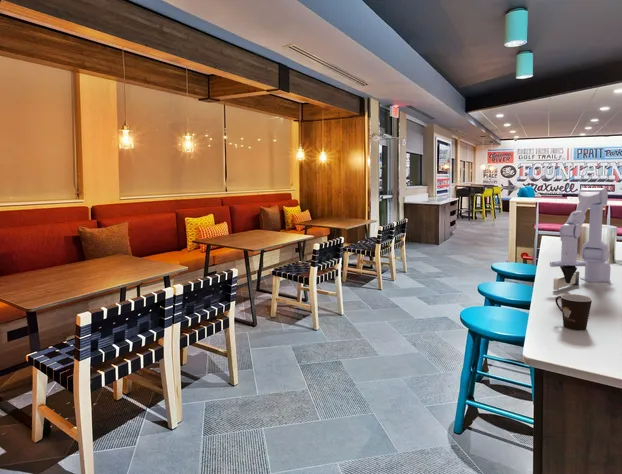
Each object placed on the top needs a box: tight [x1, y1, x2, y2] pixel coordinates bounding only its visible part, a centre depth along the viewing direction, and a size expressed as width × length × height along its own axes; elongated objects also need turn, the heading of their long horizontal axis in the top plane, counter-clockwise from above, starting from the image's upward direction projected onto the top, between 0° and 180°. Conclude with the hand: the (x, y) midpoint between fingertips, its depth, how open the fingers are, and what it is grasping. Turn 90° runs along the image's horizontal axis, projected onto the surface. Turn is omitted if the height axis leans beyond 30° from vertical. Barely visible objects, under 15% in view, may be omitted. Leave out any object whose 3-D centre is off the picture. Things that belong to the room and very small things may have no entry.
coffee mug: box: [555, 293, 593, 332], centre depth 138 cm, size 12×9×10 cm
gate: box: [552, 273, 576, 291], centre depth 183 cm, size 16×2×5 cm, turn 123°
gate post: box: [572, 270, 580, 286], centre depth 191 cm, size 8×2×6 cm, turn 174°
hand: (567, 282), depth 179 cm, fingers closed
